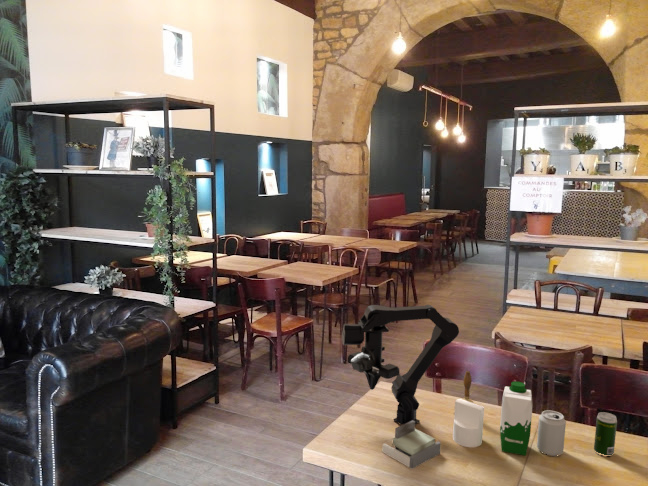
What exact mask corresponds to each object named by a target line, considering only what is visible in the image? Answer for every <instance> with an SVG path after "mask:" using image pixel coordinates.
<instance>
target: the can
mask: <svg viewBox="0 0 648 486" xmlns="http://www.w3.org/2000/svg"><path fill="white" fill-rule="evenodd" d="M566 424H567V421H566V420H565V416H564V415H563V413H561V412H558V411H555V410H549V409H548V410H547V409H546V410H544V411H541V414H540V415H538V428H537V440H536V447H537V450H538V451H540V452H541V453H542V452H543V453H545V454H547V455H546V456H548V455H551V456H550V457H558V456H560V455H563V453H564V450H565V449H564V448H565V438H566V437H565V436H566V426H567V425H566ZM543 453H542V454H543ZM545 454H544V455H545ZM557 455H558V456H557Z"/></svg>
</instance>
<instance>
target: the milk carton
mask: <svg viewBox="0 0 648 486" xmlns="http://www.w3.org/2000/svg"><path fill="white" fill-rule="evenodd" d="M532 396H533V395H532V390H531V389H527V388H526V383H524V382H523V381H518V380H515V381H512V382H511V383H510V386H504V390H503V394H502V399H501V407H500V409H501V410H500V422H499V423H500V424H499V425H500V426H499V433H500V435H499V436H500V437H499V438H500V447H501V449H500V450H501V452H504V453H505V452H506V453H510V454H515V455H521V456H525V457H526V455H527V451H528V448H529V443H530V439H531V438H530V437H531V428H532V418H533V417H532V415H533V400H532V399H533V397H532Z"/></svg>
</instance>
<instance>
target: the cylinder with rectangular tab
mask: <svg viewBox="0 0 648 486" xmlns="http://www.w3.org/2000/svg"><path fill="white" fill-rule="evenodd" d="M484 414H485V406H483V405H480V404H476V403H474V402H473V403H471V402H468V401H466V400H463V398H457V399H456V400H455V401H454V412H453V416H454V417H453V427H452V429H453V430H452V440H453V441H454V442H455V443H456V444H457V445H460V446H462V447H466V448H477V447H479V446H481V445H482V444H483V431H484V417H485V415H484Z"/></svg>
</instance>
